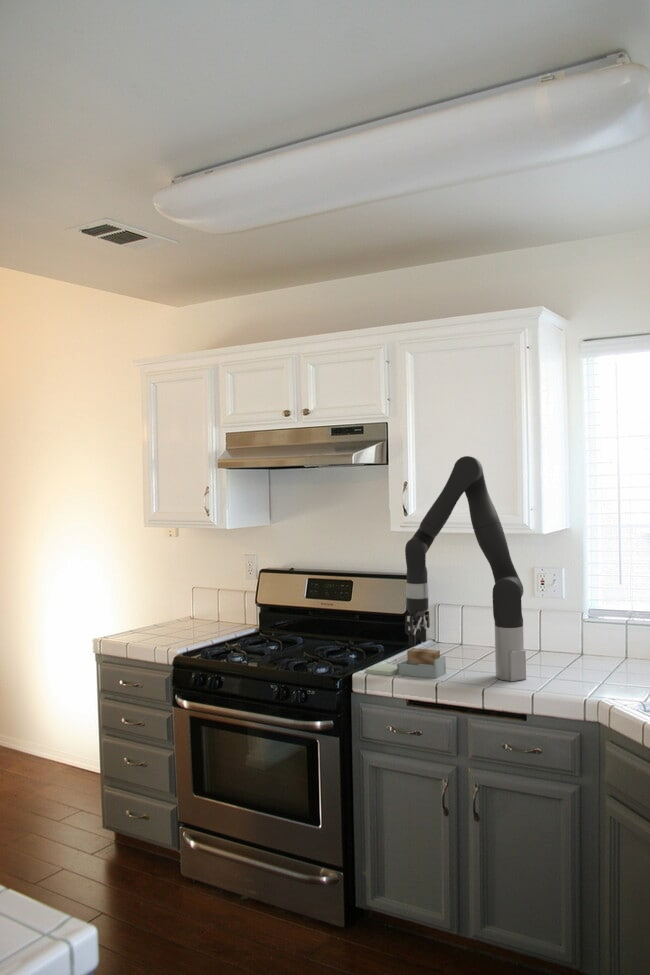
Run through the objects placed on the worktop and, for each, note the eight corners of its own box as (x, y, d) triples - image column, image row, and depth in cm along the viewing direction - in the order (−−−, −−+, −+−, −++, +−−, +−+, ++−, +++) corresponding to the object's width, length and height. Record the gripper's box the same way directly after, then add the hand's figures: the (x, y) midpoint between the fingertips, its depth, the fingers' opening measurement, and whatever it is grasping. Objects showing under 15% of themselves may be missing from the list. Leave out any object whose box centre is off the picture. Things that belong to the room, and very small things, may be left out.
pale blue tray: (445, 673, 284) (445, 655, 284) (436, 678, 278) (435, 660, 278) (407, 669, 292) (406, 652, 292) (397, 674, 285) (396, 656, 285)
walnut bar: (440, 662, 283) (439, 650, 283) (434, 665, 280) (434, 653, 280) (413, 659, 289) (413, 648, 289) (407, 662, 285) (407, 650, 285)
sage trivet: (404, 669, 292) (404, 666, 292) (391, 675, 283) (391, 671, 283) (378, 666, 297) (378, 663, 297) (365, 672, 289) (365, 669, 289)
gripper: (418, 599, 277) (418, 648, 277) (436, 594, 289) (436, 641, 289) (397, 598, 281) (398, 646, 281) (416, 592, 293) (416, 639, 293)
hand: (417, 643), depth 285 cm, fingers open, 8 cm apart
